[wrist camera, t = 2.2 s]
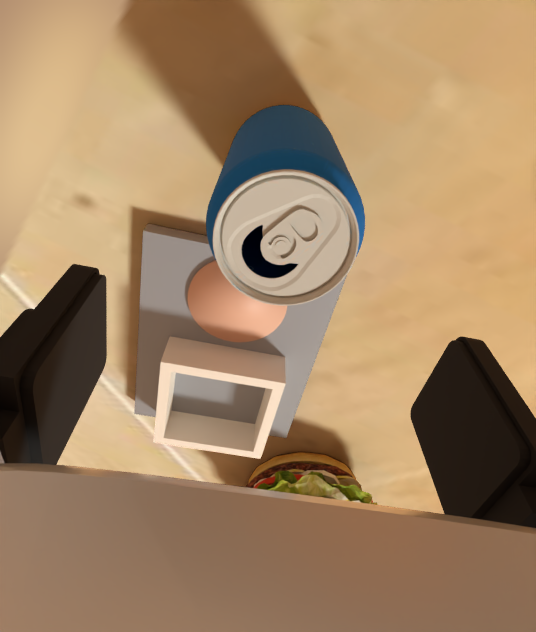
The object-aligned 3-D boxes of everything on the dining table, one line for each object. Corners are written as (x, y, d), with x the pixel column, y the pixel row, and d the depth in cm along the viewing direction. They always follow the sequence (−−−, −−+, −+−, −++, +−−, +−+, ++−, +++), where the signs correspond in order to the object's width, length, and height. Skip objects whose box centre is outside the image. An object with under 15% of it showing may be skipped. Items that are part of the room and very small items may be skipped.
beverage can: (209, 154, 26) (165, 235, 16) (290, 76, 23) (299, 114, 13) (276, 229, 29) (275, 338, 19) (356, 166, 26) (403, 254, 16)
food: (397, 476, 44) (418, 555, 38) (307, 529, 51) (311, 603, 44) (300, 418, 39) (305, 497, 33) (214, 484, 46) (203, 561, 39)
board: (147, 223, 28) (129, 251, 25) (345, 264, 30) (354, 295, 26) (138, 403, 39) (124, 441, 35) (285, 427, 40) (286, 465, 37)
